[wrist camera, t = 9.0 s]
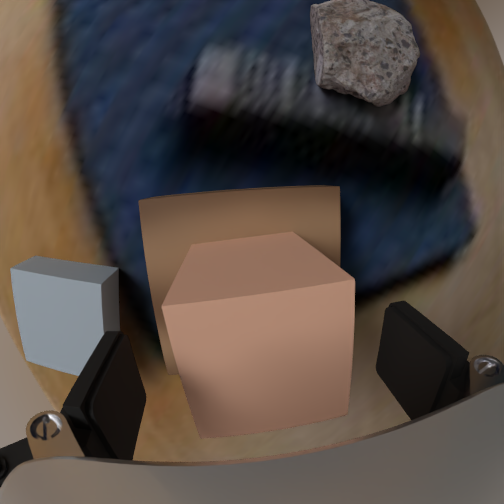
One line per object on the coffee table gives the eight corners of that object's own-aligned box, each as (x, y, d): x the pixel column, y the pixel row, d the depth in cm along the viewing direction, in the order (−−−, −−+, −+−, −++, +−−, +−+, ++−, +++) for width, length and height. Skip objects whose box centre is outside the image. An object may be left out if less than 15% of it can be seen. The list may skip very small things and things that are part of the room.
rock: (312, 105, 20) (331, 91, 16) (301, -7, 17) (314, -33, 13) (410, 118, 20) (440, 111, 16) (393, 14, 18) (416, -4, 14)
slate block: (37, 255, 20) (10, 268, 16) (119, 266, 21) (101, 284, 17) (46, 338, 22) (26, 360, 18) (122, 355, 23) (109, 383, 19)
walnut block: (153, 196, 20) (138, 200, 16) (319, 185, 21) (339, 186, 17) (175, 346, 23) (168, 374, 19) (319, 332, 24) (335, 357, 20)
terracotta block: (191, 244, 17) (161, 306, 9) (292, 231, 18) (355, 279, 9) (208, 334, 19) (200, 438, 10) (299, 322, 19) (347, 414, 10)
